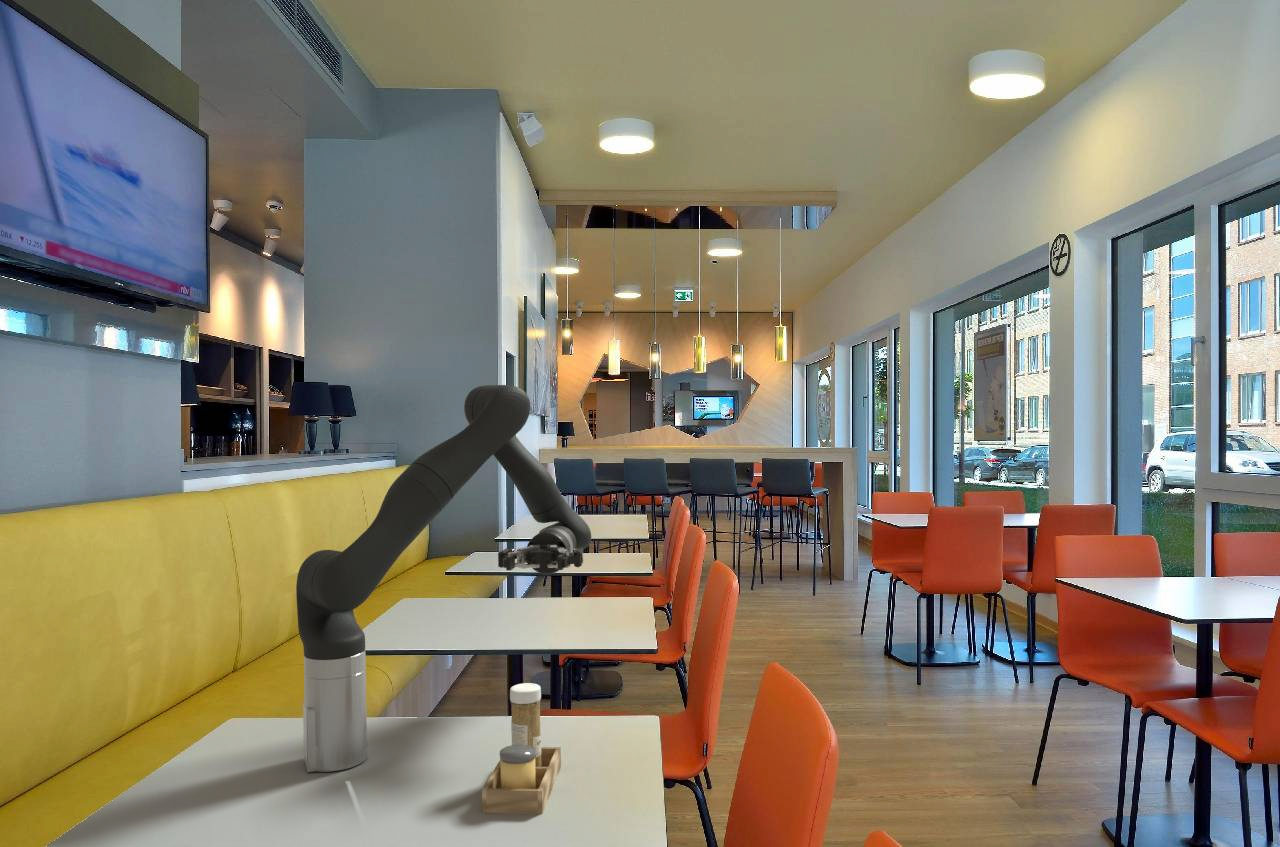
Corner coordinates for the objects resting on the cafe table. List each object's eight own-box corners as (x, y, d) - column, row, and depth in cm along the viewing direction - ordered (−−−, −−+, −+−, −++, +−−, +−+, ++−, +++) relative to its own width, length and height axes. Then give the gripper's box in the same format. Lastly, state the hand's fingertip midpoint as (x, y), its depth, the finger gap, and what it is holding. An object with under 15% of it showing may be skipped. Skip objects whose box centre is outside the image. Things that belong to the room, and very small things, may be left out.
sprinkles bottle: (547, 778, 127) (546, 687, 127) (519, 786, 125) (517, 693, 125) (534, 768, 131) (532, 680, 131) (506, 775, 129) (504, 685, 129)
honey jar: (506, 810, 117) (505, 760, 117) (495, 796, 121) (495, 748, 122) (541, 802, 119) (540, 753, 119) (529, 789, 124) (529, 742, 124)
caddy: (542, 817, 116) (542, 790, 116) (482, 816, 117) (481, 790, 117) (561, 770, 132) (560, 747, 132) (508, 769, 132) (507, 746, 132)
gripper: (511, 529, 158) (490, 541, 142) (589, 529, 157) (576, 540, 141) (512, 570, 158) (491, 587, 142) (589, 570, 157) (577, 586, 141)
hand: (533, 564), depth 142 cm, fingers open, 8 cm apart
